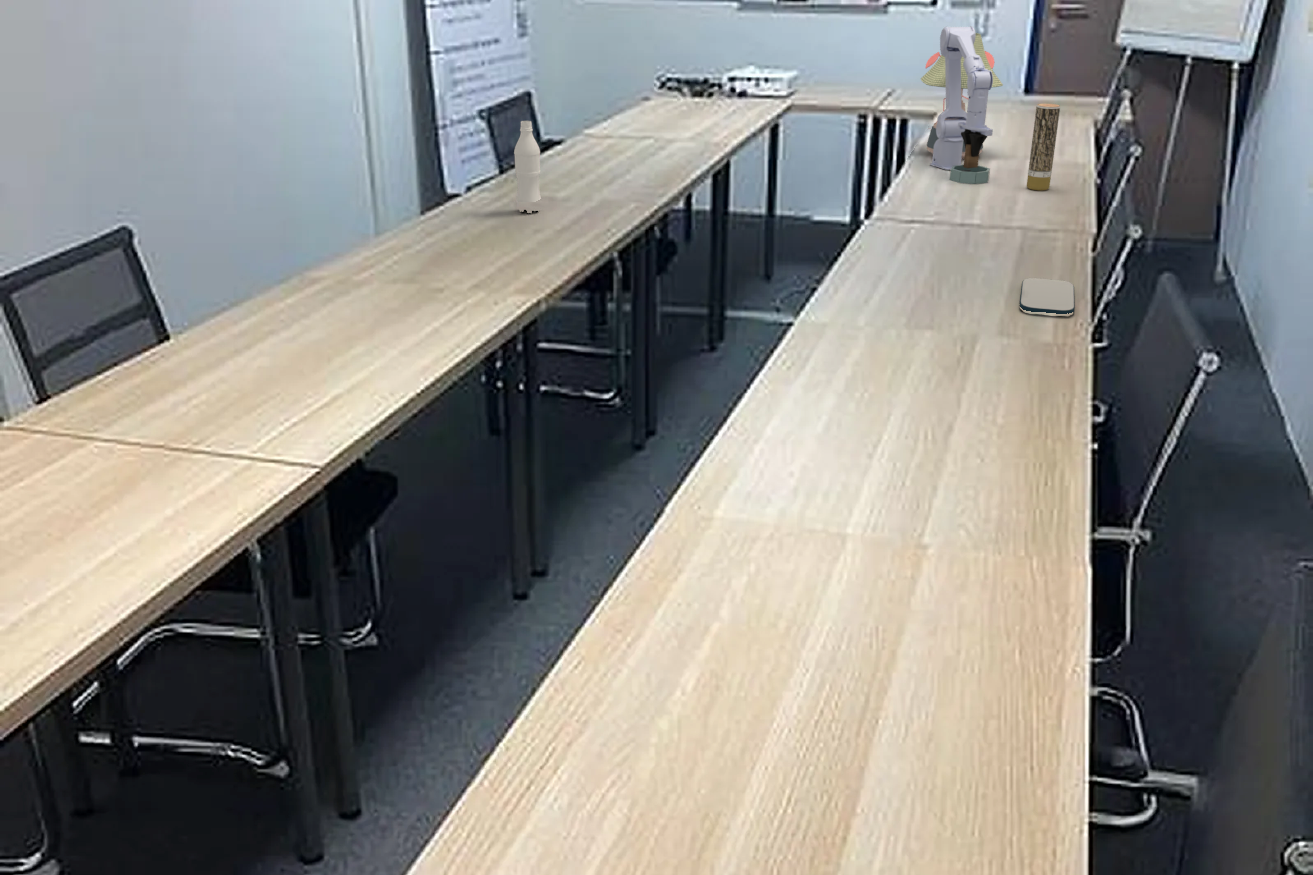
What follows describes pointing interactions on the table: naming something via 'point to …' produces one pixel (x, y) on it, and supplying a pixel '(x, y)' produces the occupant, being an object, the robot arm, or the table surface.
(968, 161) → the wooden block
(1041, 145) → the bark patterned cylinder
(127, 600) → the table surface
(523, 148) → the water bottle
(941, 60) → the desk lamp
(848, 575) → the table surface
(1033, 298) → the external hard drive
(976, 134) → the robot arm
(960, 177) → the bowl
